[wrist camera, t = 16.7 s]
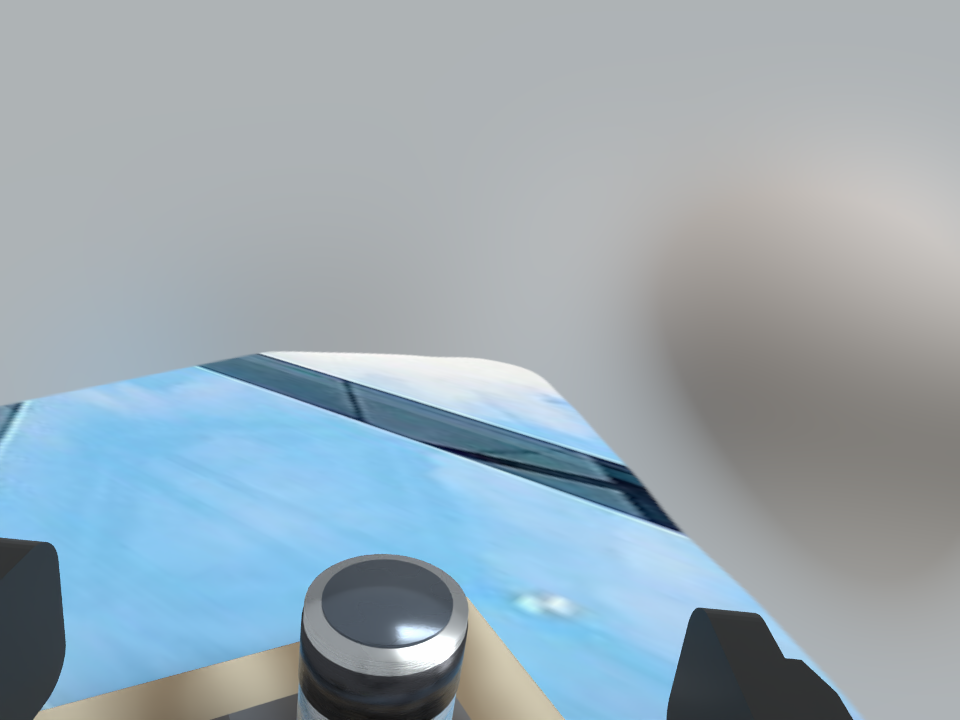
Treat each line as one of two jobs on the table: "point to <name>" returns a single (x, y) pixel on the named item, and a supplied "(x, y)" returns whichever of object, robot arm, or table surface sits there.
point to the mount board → (274, 688)
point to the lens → (381, 641)
